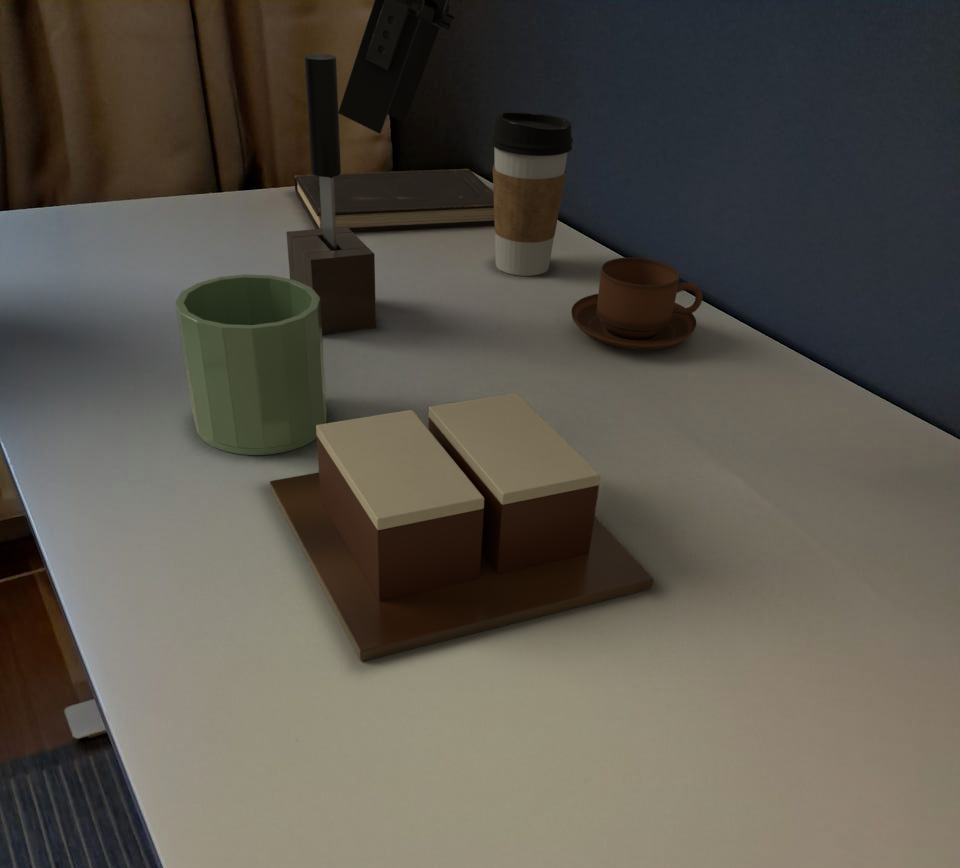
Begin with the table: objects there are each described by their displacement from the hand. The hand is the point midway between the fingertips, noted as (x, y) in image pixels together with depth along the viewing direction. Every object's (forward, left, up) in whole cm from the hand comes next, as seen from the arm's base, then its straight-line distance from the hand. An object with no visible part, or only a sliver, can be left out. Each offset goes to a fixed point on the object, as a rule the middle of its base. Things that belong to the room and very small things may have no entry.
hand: (375, 119), depth 66 cm
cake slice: (+18, +3, -21) cm, 28 cm away
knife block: (-21, +3, -22) cm, 30 cm away
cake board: (+18, -1, -22) cm, 29 cm away
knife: (-21, +3, -22) cm, 30 cm away
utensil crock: (-2, -9, -22) cm, 24 cm away
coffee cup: (-28, +27, -22) cm, 44 cm away
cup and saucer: (-8, +29, -22) cm, 37 cm away
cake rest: (+18, -5, -21) cm, 28 cm away
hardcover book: (-51, +21, -22) cm, 59 cm away
